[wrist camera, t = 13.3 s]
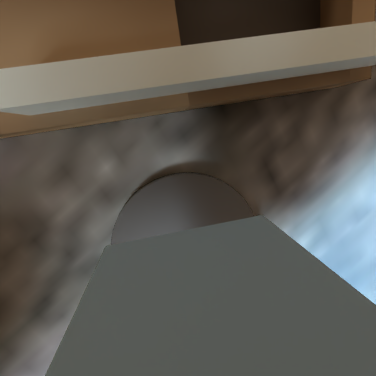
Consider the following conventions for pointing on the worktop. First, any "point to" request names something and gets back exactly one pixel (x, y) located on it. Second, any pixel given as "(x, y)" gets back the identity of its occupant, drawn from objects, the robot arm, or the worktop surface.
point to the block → (218, 309)
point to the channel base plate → (160, 46)
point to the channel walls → (184, 69)
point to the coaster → (178, 207)
